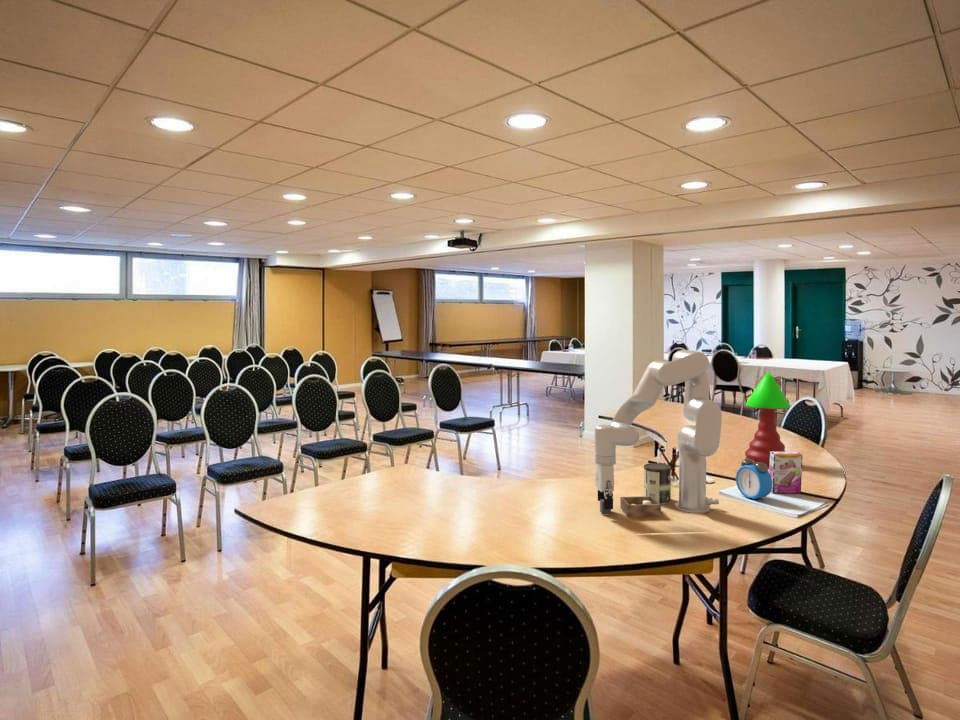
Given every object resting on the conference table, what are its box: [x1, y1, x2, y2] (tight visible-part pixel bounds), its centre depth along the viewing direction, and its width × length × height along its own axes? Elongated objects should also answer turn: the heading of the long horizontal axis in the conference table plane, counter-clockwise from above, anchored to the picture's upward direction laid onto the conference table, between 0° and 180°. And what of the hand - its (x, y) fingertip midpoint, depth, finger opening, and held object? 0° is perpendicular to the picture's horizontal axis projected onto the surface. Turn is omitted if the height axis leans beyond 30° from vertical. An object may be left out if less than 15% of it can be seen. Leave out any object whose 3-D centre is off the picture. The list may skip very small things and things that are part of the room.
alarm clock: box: [735, 458, 772, 500], centre depth 233 cm, size 13×6×15 cm, turn 22°
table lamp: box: [743, 370, 792, 469], centre depth 283 cm, size 20×20×45 cm
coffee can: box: [643, 462, 672, 505], centre depth 231 cm, size 10×10×14 cm
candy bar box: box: [768, 451, 803, 495], centre depth 239 cm, size 11×5×16 cm, turn 84°
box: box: [619, 495, 662, 519], centre depth 217 cm, size 12×10×5 cm
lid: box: [599, 499, 612, 515], centre depth 216 cm, size 12×10×6 cm
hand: (605, 504), depth 216 cm, fingers open, 9 cm apart
